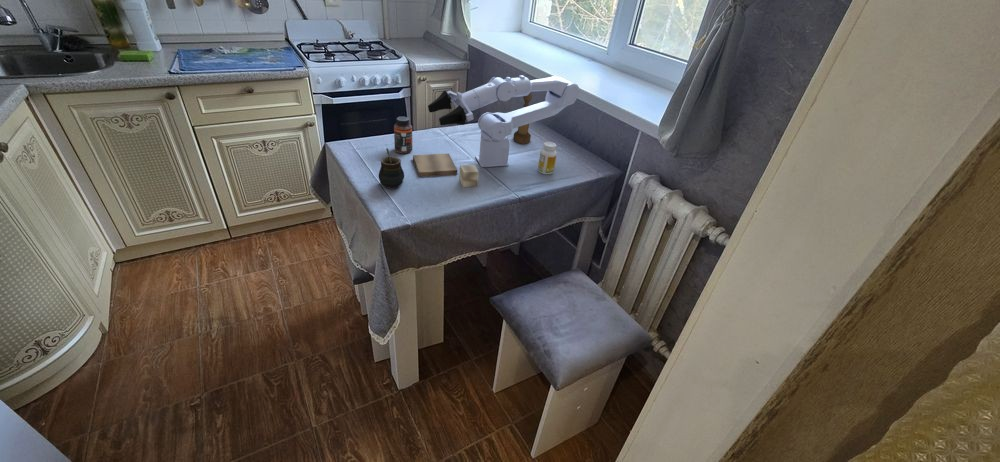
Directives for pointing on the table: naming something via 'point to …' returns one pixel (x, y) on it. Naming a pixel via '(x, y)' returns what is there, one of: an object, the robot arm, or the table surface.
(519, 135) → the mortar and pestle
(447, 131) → the table surface
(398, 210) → the table surface
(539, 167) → the supplement bottle
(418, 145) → the table surface
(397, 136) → the supplement bottle
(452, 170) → the light brown wooden block
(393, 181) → the mate gourd
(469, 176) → the maple cube
